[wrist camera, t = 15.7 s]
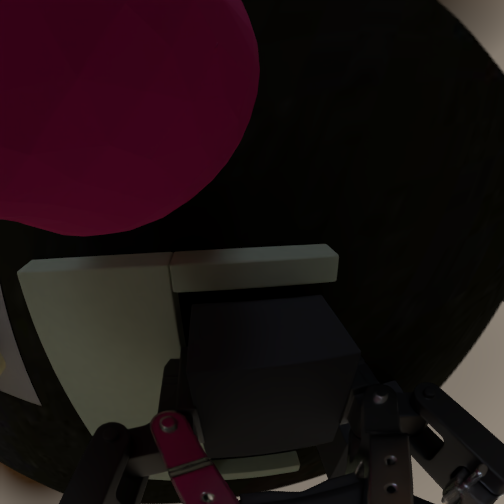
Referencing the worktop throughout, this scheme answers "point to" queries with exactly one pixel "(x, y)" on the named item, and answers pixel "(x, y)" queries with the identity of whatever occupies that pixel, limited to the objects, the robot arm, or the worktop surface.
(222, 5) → the pepper mill
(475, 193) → the worktop surface
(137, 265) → the pale green e-shaped block
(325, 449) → the black block
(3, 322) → the stacked layers on plate
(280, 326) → the dark charcoal cube
